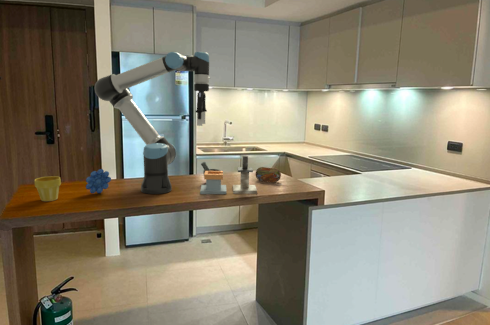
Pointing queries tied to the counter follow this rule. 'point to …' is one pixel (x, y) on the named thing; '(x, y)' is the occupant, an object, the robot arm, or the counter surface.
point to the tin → (268, 174)
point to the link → (213, 175)
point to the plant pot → (48, 187)
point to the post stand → (244, 179)
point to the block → (213, 187)
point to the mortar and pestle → (207, 168)
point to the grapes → (98, 181)
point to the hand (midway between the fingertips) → (201, 124)
